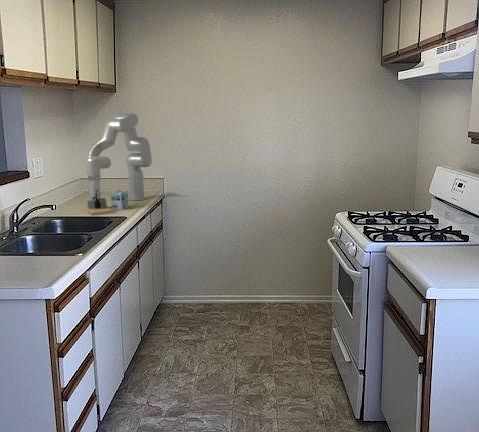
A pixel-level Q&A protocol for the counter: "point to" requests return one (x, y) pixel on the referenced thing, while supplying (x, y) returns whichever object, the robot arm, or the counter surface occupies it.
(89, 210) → the oak board
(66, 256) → the counter surface
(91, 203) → the sanding block
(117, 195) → the light bulb box
